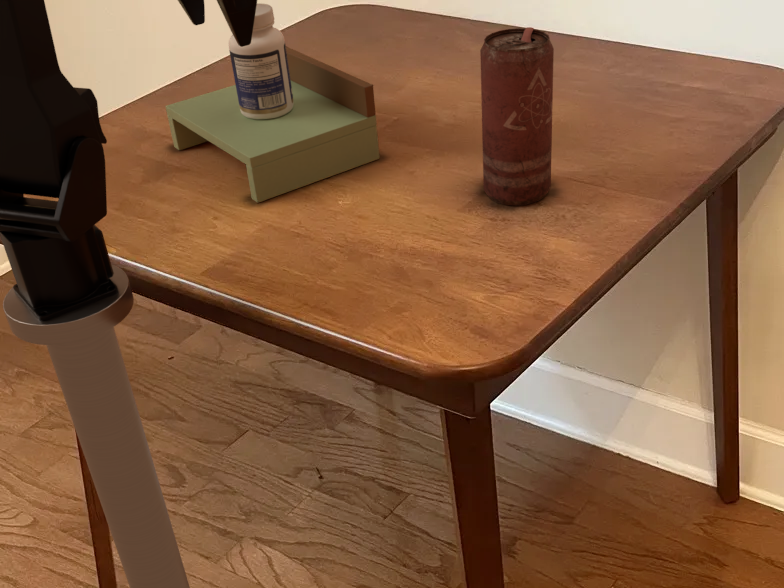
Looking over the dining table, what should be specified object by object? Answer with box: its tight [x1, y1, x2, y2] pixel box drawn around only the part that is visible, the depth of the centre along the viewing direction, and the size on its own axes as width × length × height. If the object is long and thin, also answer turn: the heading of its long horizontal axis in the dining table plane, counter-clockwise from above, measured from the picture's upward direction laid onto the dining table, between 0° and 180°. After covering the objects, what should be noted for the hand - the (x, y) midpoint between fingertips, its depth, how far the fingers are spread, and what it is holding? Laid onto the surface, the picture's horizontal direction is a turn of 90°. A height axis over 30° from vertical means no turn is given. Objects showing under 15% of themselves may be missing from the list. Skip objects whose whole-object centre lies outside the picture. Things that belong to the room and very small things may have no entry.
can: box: [479, 26, 555, 207], centre depth 90 cm, size 6×6×14 cm
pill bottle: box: [228, 3, 294, 119], centre depth 99 cm, size 5×5×10 cm
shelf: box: [165, 46, 381, 204], centre depth 103 cm, size 14×18×8 cm
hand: (221, 34), depth 95 cm, fingers open, 9 cm apart
